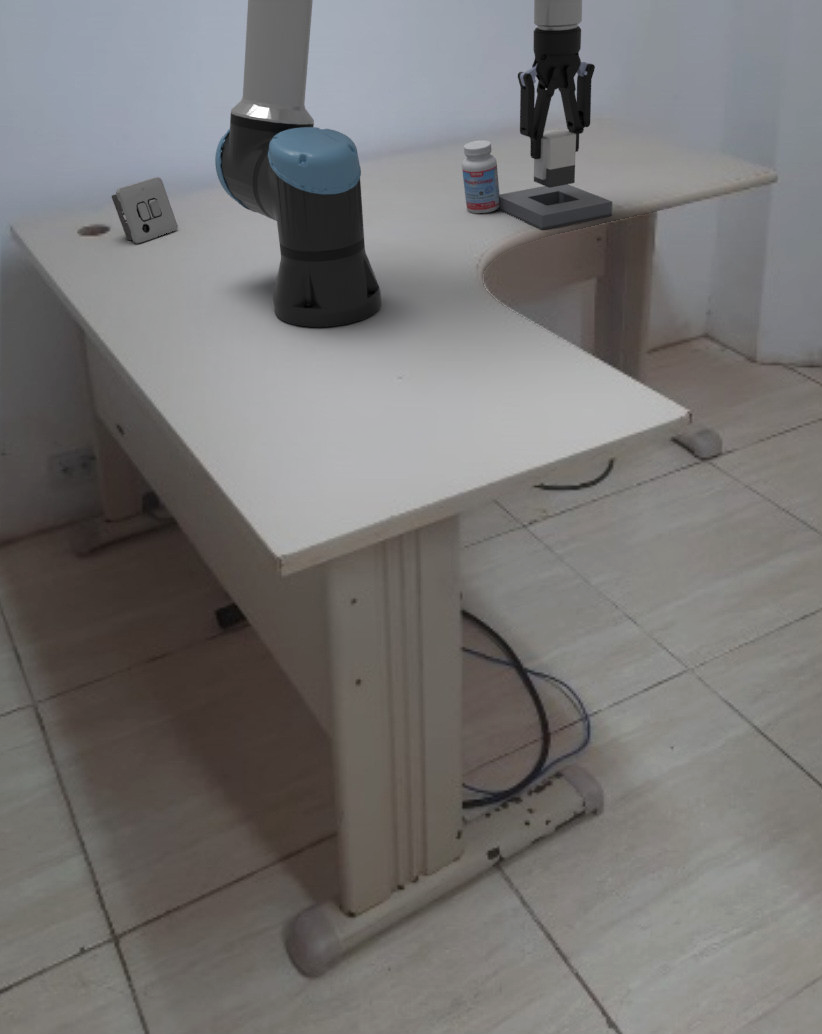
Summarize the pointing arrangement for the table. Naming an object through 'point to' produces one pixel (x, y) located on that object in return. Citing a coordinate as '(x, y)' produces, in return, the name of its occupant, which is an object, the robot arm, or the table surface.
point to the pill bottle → (480, 178)
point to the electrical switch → (144, 210)
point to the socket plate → (554, 206)
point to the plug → (559, 158)
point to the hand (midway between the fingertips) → (554, 174)
